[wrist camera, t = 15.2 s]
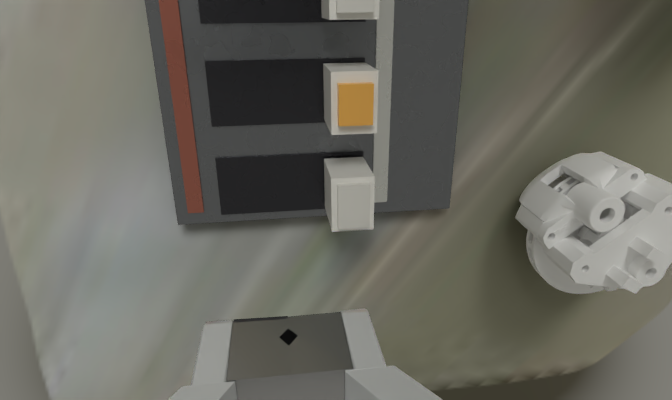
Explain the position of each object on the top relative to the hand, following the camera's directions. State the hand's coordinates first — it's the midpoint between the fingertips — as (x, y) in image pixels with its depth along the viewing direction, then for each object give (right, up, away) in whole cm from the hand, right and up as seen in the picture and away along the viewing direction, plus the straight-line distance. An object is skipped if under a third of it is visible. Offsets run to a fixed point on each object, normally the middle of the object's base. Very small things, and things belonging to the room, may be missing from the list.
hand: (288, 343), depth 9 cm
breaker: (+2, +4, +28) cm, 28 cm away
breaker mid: (+2, +11, +25) cm, 28 cm away
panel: (-1, +11, +27) cm, 29 cm away
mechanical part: (+21, +2, +34) cm, 40 cm away
